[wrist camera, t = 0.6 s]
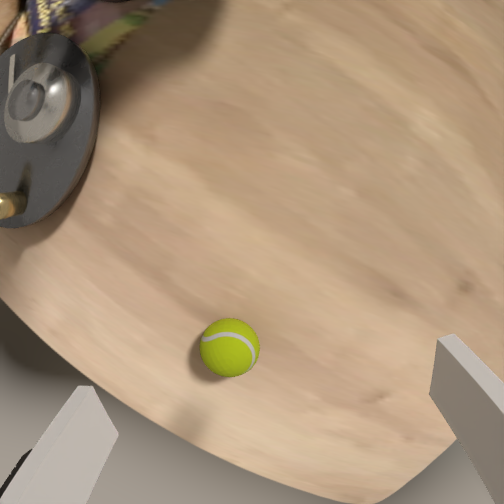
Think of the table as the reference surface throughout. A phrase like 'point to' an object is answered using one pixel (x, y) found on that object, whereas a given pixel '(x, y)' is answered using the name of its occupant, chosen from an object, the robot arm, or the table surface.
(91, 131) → the turntable
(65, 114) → the cover
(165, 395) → the table surface
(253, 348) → the tennis ball
